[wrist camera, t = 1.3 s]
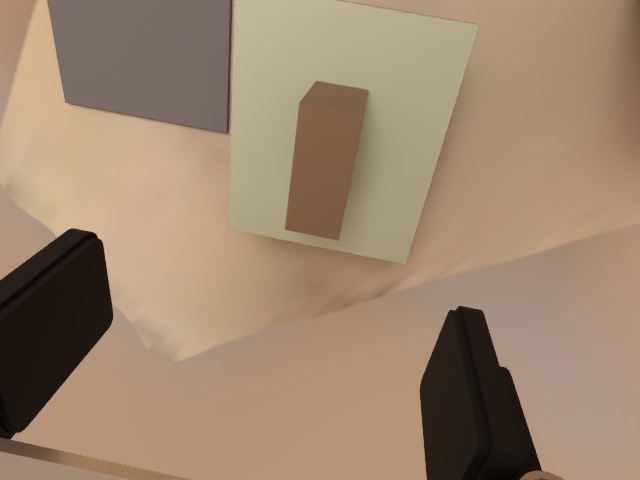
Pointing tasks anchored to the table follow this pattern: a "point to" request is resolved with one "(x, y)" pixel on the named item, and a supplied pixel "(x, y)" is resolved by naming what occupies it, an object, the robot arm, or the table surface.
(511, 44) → the table surface
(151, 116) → the mat
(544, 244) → the table surface
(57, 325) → the robot arm
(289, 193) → the lid
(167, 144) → the table surface
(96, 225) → the table surface
